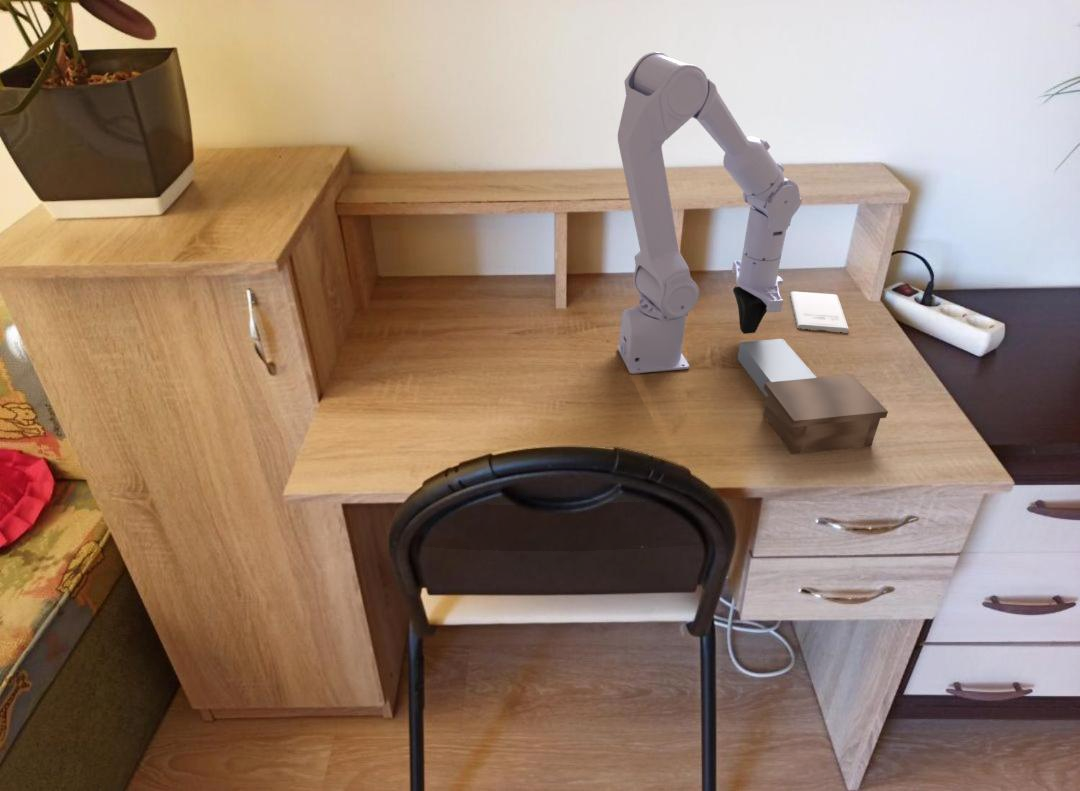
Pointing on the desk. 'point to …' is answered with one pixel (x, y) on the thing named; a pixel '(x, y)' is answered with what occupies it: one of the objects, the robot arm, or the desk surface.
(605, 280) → the desk surface
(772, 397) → the brown lidded box
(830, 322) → the external hard drive
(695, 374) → the desk surface
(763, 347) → the brushed metal plate
